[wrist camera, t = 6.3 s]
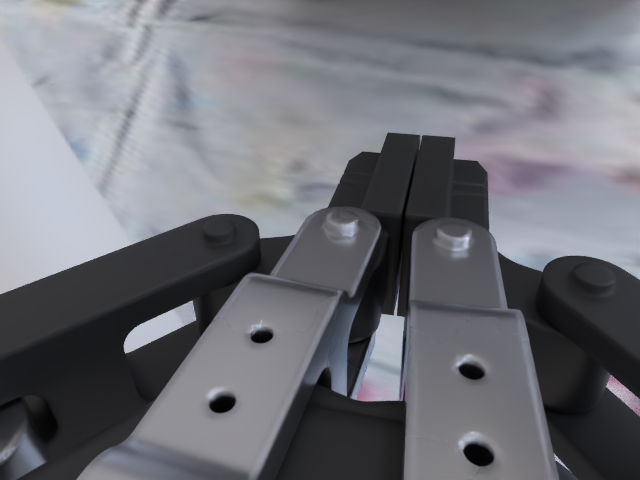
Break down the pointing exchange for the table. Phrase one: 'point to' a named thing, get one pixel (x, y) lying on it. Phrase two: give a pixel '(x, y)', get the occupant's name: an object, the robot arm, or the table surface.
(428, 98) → the table surface
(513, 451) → the robot arm
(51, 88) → the table surface
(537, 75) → the table surface
